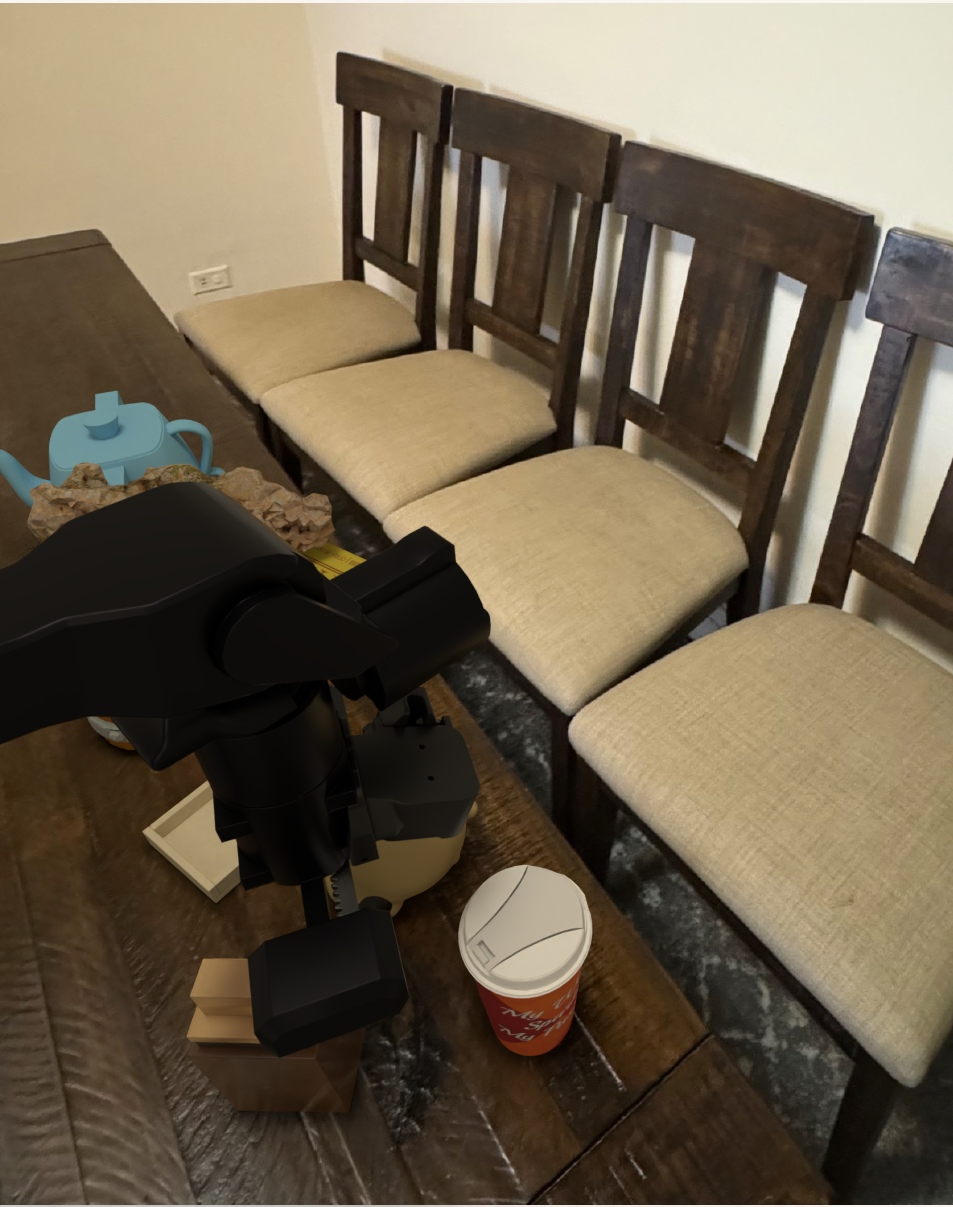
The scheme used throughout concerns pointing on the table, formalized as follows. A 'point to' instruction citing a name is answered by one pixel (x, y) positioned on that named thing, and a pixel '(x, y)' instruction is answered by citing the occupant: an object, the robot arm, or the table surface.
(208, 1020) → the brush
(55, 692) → the robot arm
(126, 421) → the teapot
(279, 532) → the rock
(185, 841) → the tray
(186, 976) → the table surface
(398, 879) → the tan animal figurine
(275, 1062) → the brown block
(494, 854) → the table surface
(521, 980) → the paper cup
